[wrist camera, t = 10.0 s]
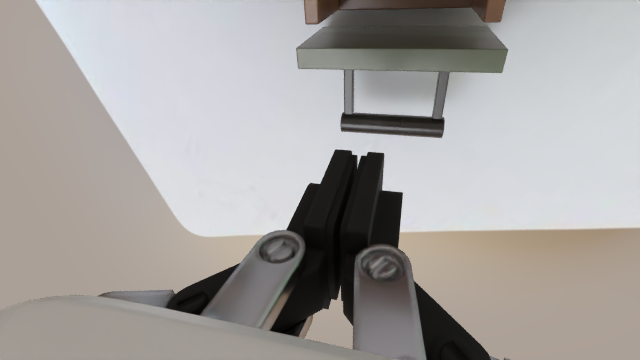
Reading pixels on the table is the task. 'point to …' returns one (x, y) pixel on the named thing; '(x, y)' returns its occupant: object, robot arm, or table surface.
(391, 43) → the drawer
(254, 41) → the table surface
